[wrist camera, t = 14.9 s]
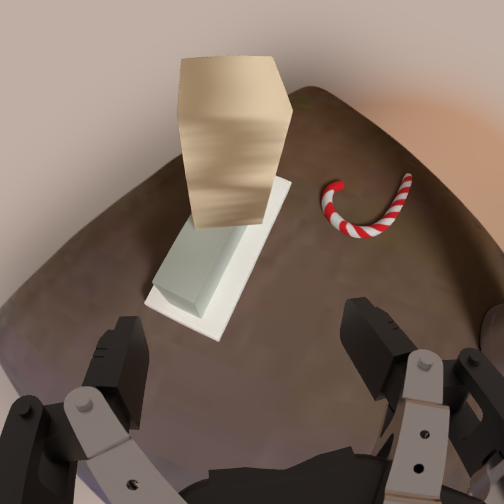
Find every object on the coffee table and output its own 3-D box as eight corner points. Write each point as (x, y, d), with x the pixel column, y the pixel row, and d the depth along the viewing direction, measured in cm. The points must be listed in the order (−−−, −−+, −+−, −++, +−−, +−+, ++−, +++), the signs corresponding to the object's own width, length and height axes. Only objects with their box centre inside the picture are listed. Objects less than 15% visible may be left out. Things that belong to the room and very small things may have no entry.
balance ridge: (288, 190, 31) (307, 139, 23) (218, 342, 24) (216, 332, 17) (229, 166, 31) (232, 112, 24) (148, 306, 25) (119, 282, 17)
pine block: (253, 170, 21) (272, 56, 12) (261, 224, 20) (292, 110, 11) (192, 175, 21) (181, 58, 12) (195, 229, 19) (177, 114, 10)
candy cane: (428, 192, 32) (358, 251, 28) (423, 197, 33) (353, 255, 29) (389, 149, 34) (310, 192, 30) (385, 154, 35) (307, 199, 31)
